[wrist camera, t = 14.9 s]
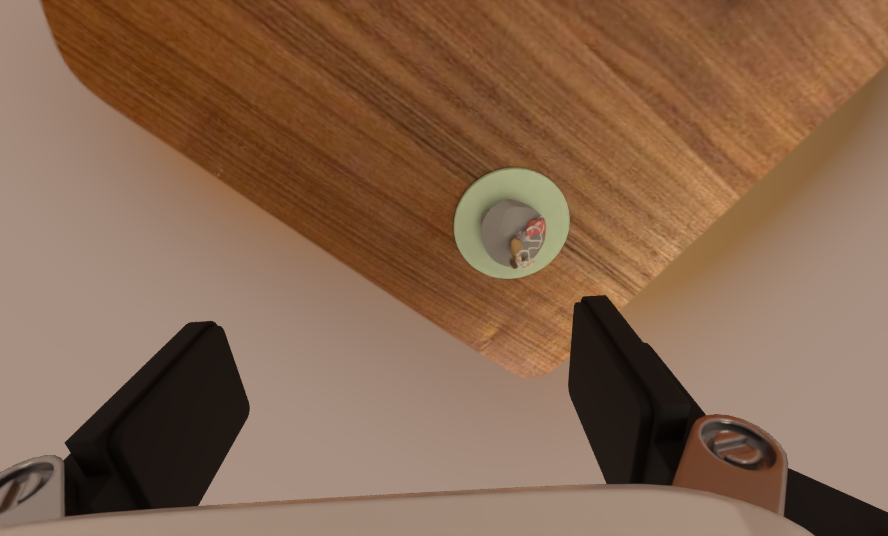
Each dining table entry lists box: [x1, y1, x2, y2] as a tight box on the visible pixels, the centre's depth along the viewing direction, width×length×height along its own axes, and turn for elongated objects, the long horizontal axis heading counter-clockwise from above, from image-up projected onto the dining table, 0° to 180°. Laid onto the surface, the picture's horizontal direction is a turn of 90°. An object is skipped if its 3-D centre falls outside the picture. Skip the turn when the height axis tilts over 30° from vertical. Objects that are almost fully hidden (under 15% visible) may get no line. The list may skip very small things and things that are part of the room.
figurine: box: [481, 199, 546, 269], centre depth 27 cm, size 5×4×6 cm
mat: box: [454, 167, 570, 279], centre depth 30 cm, size 8×8×1 cm
